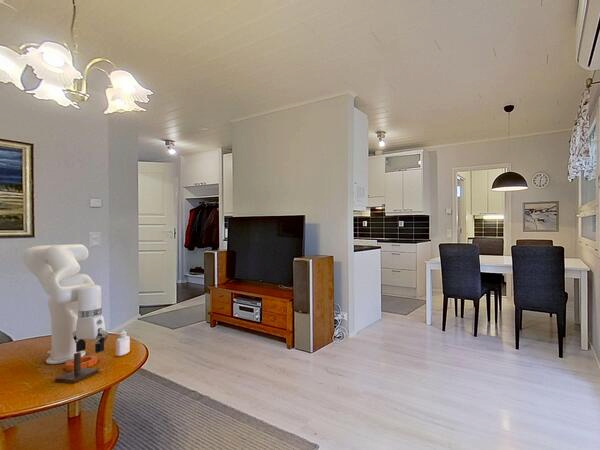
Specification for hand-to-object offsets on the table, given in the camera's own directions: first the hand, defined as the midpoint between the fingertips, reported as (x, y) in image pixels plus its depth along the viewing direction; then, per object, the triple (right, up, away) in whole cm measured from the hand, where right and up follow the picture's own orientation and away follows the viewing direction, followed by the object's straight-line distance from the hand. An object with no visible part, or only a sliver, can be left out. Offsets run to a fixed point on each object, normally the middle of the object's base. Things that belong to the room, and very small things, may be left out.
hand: (90, 351), depth 137 cm
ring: (-5, -7, +1) cm, 8 cm away
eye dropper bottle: (+3, -7, +13) cm, 15 cm away
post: (+4, -7, -9) cm, 12 cm away
